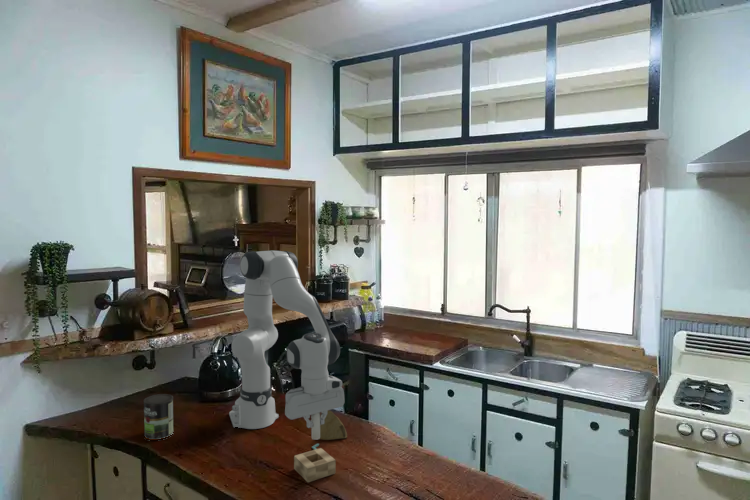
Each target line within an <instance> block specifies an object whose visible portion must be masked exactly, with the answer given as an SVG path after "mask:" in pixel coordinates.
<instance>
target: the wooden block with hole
mask: <svg viewBox="0 0 750 500" xmlns="http://www.w3.org/2000/svg"><path fill="white" fill-rule="evenodd" d="M336 462H337V461H336V459H335V458H334V457H333V456H331V455H330V454H329V453H328V452H327V451H325V450H324V449H323V448H322V447H319V448H317V449H315V450H314V449H312V450H309V451H306V452H303V453H299V454H295V455H294V457H293V470H295V471H296V473H298V474H299V475H300V477H302V478H303V480H305V481H306V482H307V483H311V482H314V481H317V480H320V479H323V478H325V477H329V476H332V475H335V474H336Z"/></svg>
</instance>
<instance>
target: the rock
mask: <svg viewBox="0 0 750 500" xmlns="http://www.w3.org/2000/svg"><path fill="white" fill-rule="evenodd" d="M327 411H328V413H327V415H326V417H325V419H324V424H322V425H320V439H319V440H324V441H329V440H340V439H347V438H348V433H347V429H346V428H345V425H344V424H343V422H342V420H340V418H339V417H338V416H337V415H336V414H334V412H332V410H327Z"/></svg>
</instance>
